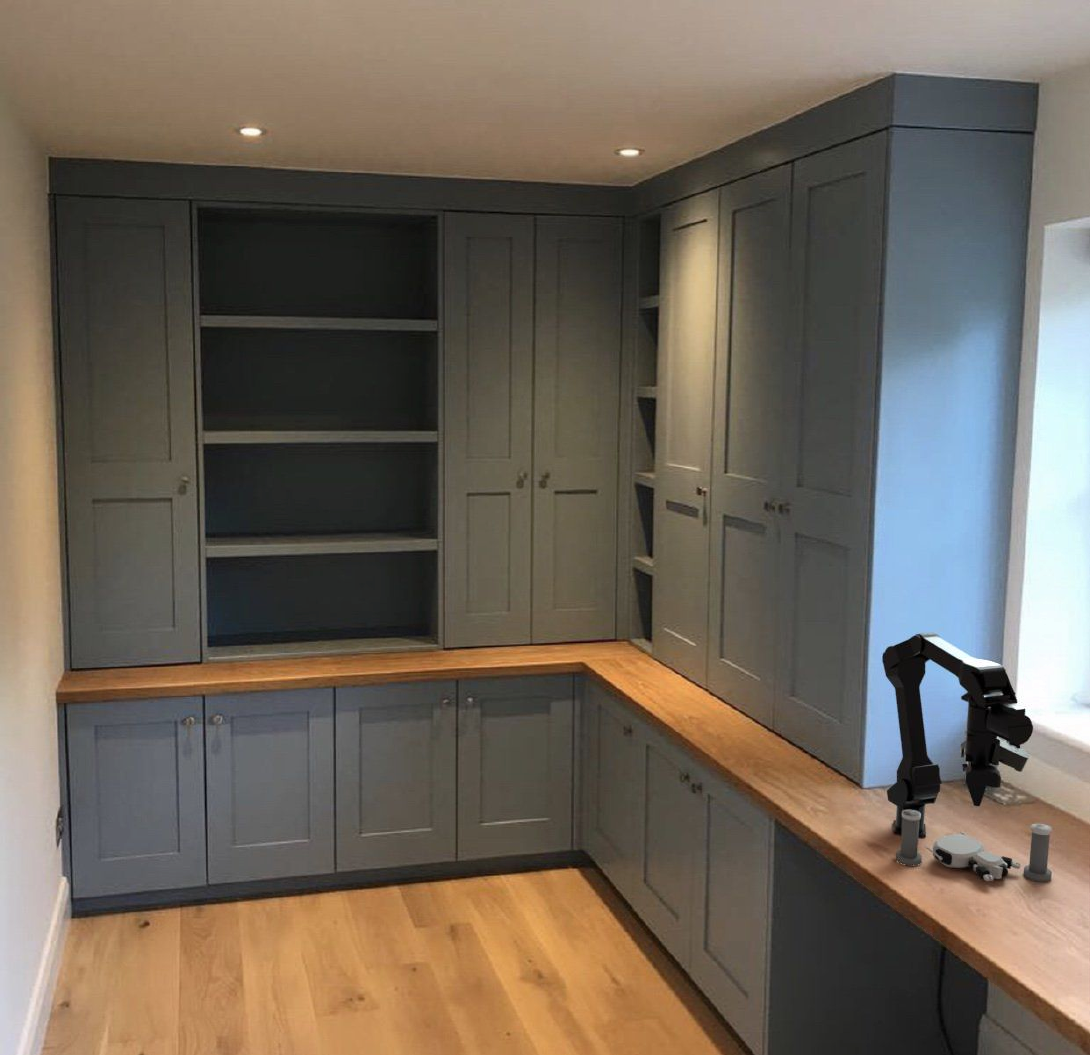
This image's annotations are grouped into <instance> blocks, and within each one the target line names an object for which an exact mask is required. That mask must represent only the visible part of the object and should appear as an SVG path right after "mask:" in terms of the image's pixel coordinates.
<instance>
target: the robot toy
mask: <svg viewBox="0 0 1090 1055" xmlns="http://www.w3.org/2000/svg"><path fill="white" fill-rule="evenodd" d="M924 847H925V850H928V851H929V852H930V853H932V856H933V857H934V859H935V860H936V861H938V862H940V863H941V864H942V865H944V866H945V867H947V868H957V869H963V868H968V867H969V868H970V869H972V871H974V872H975V874H976V876H977V877H978V878H980V880H982V881H985V882H990V881H991V882H993V881H994V879H996V880H998V879H999V880H1001V879H1002V878H1005V877H1007V876H1008V874H1009V870H1011V868H1013V869H1017V870H1019V869H1020V868H1021V863H1020V862H1019V861H1013V858H1011V857H1007V856H1000V855H998V854H995V853H994V852H990V851H988V850H985V845H984V844H983V843H982V842H981V841H980V840H978V839H975V838H973V837H971V836H969V835H968V834H966V833H965V832H964V831H962V830H960V834H959V833H953V834H948V835H944V836H942V837H940V838H939V839H937V840H935V841H934V843H933V847H932V849H931V848H930V847H929V846H928V845H924ZM1008 869H1009V870H1008Z"/></svg>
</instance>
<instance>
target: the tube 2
mask: <svg viewBox="0 0 1090 1055" xmlns="http://www.w3.org/2000/svg"><path fill="white" fill-rule="evenodd" d="M1030 830H1031V837H1030V839H1031V840H1030V851H1029V852H1030V854H1029V865H1025V866H1024V867H1023V876H1024V877H1025V878H1026V879H1027V880H1030V881H1032V882H1037V883H1048V882H1050V881H1052V870H1050V869H1049V868H1048V860H1049V849H1050V848H1049V847H1050V837H1051V834H1052V827H1051V826H1050V825H1046V824H1043V823H1034V824H1033V823H1032V824H1031V826H1030Z"/></svg>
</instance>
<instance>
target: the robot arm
mask: <svg viewBox="0 0 1090 1055" xmlns="http://www.w3.org/2000/svg"><path fill="white" fill-rule="evenodd" d="M881 660H882V664H883V670H884V674H885V677H886V678H887V680H888V681H889V682H890V684H891V686H892V687H893V688H894V692H895V699H896V700H895V701H896V708H897V709H896V710H897V718H898V728H899V735H900V736H899V737H900V743H901V745H900V746H901V752H902V758H901V760H900V762H899V765H898V767H897V770H896V782H894V784H893V785H891V786H890V787H889V788H888V789H887V790H886V796H887V801H888V802H890V803H891V804H893V805H895V806H896V813H895V816H896V817H895V819H893V821H892V822H893V823H892V824H893V834H895V835H897V834H898V835H902V820H903V817H902V811H903V810H915V811H918V812H920V813H921V819H920V820H919V835H918V837H919V838H920V837H921V838H926V837H927V831H926V830H927V829H926V828H927V827H926V823H925V816H926V815H925V813H926V805H928V804H935V803H936V800H937V799H938V795H939V793H940V792H941V785H942V779H941V774H940V772H941V771H940V766H939V764H937V763H935V764H934V763H933V761H932V760H931V759H930V758H929V755H928V749H927V740H926V732H925V731H926V730H925V724H924V714H923V707H922V706H923V705H922V697H921V688H920V687H921V684H922V681H923V679H924V677H925V674H926V663H927V662H929V661H932V662H933V663H935V664H936V665H938V666H940V667H942V668H943V669H944V670H946V671H948V672H950V673H951V674H952V675H954V676H956V678H958V683H959V685H960V686H961V687H962V688H963V689H964V690H965V691H966V692H965V693H964V694H963V695H961V696H960V697H961V698H960V699H961V701H964V702H966V703H968V706H967V720H966V727H965V731H964V733H965V740H964V741H963V742H961V743H960V747H959V748H960V750H959V755H960V758H964V761H965V762H966V763H962V764H961V767H962V772H963V773H962V774H963V777H964V783H965V784H966V785H967V786H966V787H967V789H968V792H969V795H970V798H971V800H972V804H973V806H974V807H980V806H981V803H982V801H983V798H984V796H985V794H986V793H985V792H986V790H987V787H988V788H996V789H998V788H1001V783H1002V782H1001V781H1002V777H1001V776H1002V775H1001V773H1000V771H999V770H998V768H997V766H1000V764H1004V765H1005V766H1007V767H1010V768H1012V769H1014V771H1017V772H1019V773H1021V772H1023V770H1024V768H1025V766H1026V763H1027V762H1028V760H1029V755H1028V752H1027V751H1026V750H1025V749H1024V748H1023V747H1022V748H1021V745H1024V744H1025V743H1027V742H1028V741H1030V740H1029V739H1030V738H1032V737H1031V736H1032V735H1033V731H1034V725H1033V722H1032V720H1031V718H1030V717H1029V716H1027V715H1026V708H1024V707H1021V706H1016V705H1017V704H1018V699H1017V696H1016V691H1015V690H1014V688H1013V686H1012V683H1011V680H1010V678H1009V676H1008V673H1007V671H1006V668H1005V667H1004V666H1003V665H1002V664H1000V663H996V662H994V661H991V660H988V659H980V658H976V657H973V656H971V655H969V654H967V653H966V652H965V651H963V650H961V649H959V648H958V647H957V646H955V645H953V644H951V643H950V642H948V641H946V640H944V639H943V638H941V637H940V635H939V634H938V633H935V632H925V633H924V632H921V633H917V634H915V635H913V636H911V637H910V638H908V639H906V640H904V641H902V642H900V643H897V644H895V645H890V646H887V648H885V650H884V652H882V658H881ZM998 694H1000V695H998ZM991 695H993V696H991ZM1015 704H1016V705H1015Z"/></svg>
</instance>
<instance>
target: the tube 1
mask: <svg viewBox="0 0 1090 1055" xmlns="http://www.w3.org/2000/svg"><path fill="white" fill-rule="evenodd" d="M902 817H903V820H902V834H901V838H900V849H899V850H898V851H896V852H895V858H894V860H895V859H896V860H895V862H896V861H898V862H899V863H902V864H905V865H912V866H911V867H914V866H913V865H918V864H920V863H921V864H922V861H923V856H922V854H920V853H919V852H918V848H919V847H918V846H919V836H918V835H919V820H920V819H921V813H920V812H918V811H915V810H903V811H902ZM899 863H898V864H899Z"/></svg>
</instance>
